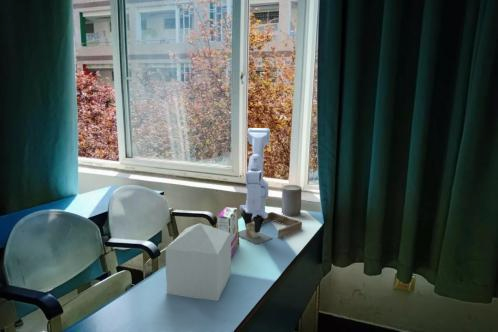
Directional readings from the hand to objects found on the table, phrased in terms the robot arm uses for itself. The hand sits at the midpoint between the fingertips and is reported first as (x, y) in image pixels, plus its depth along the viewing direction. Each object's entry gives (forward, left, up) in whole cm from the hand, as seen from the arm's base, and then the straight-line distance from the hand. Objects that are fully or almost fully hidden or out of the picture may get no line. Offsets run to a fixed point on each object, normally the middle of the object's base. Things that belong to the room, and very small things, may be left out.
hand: (252, 230), depth 146 cm
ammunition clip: (-3, -12, -3) cm, 12 cm away
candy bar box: (+5, -19, -3) cm, 19 cm away
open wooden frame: (0, +14, -3) cm, 15 cm away
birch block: (0, 0, -2) cm, 2 cm away
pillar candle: (-8, +35, -3) cm, 37 cm away
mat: (0, 0, -3) cm, 3 cm away
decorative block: (+15, -39, -3) cm, 41 cm away
